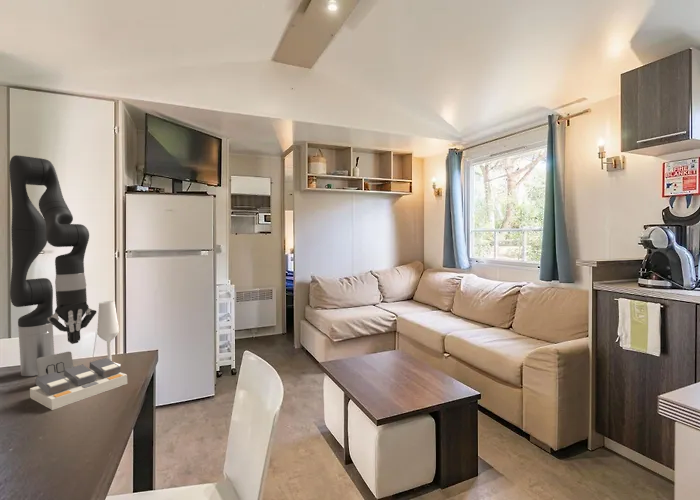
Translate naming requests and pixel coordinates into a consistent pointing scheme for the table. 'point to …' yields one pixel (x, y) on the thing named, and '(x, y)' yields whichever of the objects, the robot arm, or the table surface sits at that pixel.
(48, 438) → the table surface
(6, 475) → the table surface
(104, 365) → the block
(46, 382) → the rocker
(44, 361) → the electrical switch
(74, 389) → the switch panel
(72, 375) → the rocker middle
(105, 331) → the champagne flute
